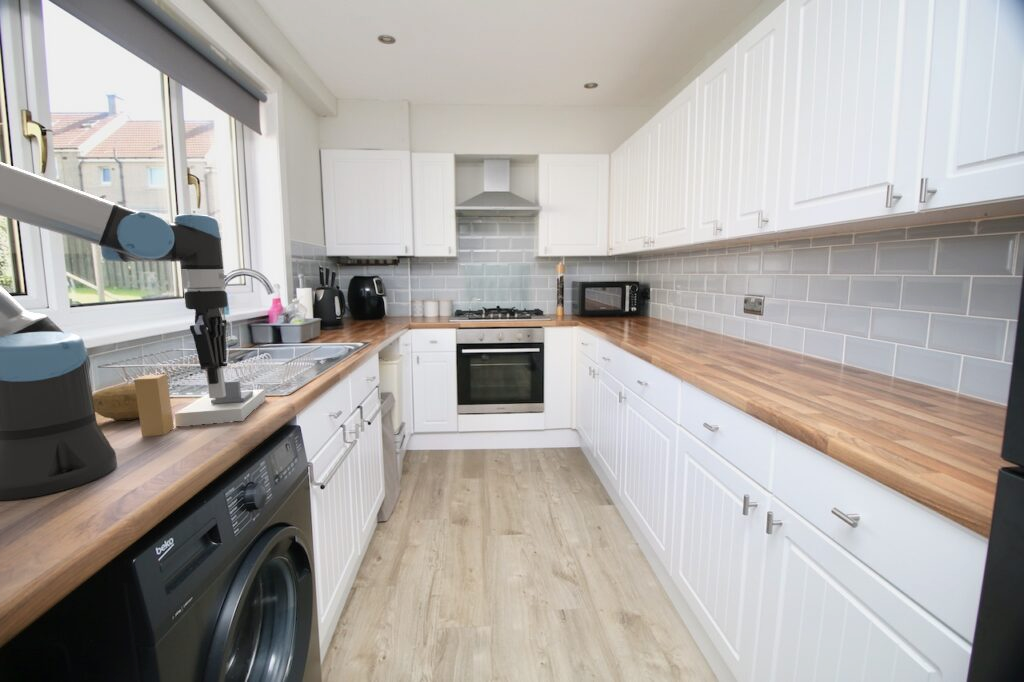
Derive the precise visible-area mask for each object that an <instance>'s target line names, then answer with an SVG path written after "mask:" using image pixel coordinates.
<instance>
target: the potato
mask: <svg viewBox="0 0 1024 682" xmlns="http://www.w3.org/2000/svg"><path fill="white" fill-rule="evenodd" d="M93 402H94V408H95V414H96V413H97V414H98V415H100V416H101V417H103V418H107V419H112V420H114V421H126V419H131V420H136V418H137V419H140V418H139V411H138V404H137V396H136V389H135V383H130V384H129V383H128V384H125V385H121V386H114V387H108V388H105V389H102V390H100V391H97V392H96V393H94V395H93Z"/></svg>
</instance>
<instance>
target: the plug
mask: <svg viewBox="0 0 1024 682" xmlns="http://www.w3.org/2000/svg"><path fill="white" fill-rule="evenodd" d="M133 380H134V381H133V382H134V384H135V389H136V396H137V404H138V411H139V418H138V419H139V424H140V430H141V431H140V432H141V437H142V436H144V437H153V436H154V437H155V436H164V435H166V434H168V433H169V432H171V431H172V430H174V429H175V427H174V426H175V425H174V418H173V412H172V404H171V395H170V387H169V380H168V374H167V373H166V374H149V375H148V374H147V375H142V376H140V377H138V378H135V379H133ZM173 428H174V429H173ZM170 430H171V431H170ZM167 432H168V433H167Z"/></svg>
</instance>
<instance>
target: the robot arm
mask: <svg viewBox="0 0 1024 682" xmlns="http://www.w3.org/2000/svg"><path fill="white" fill-rule="evenodd" d="M0 216H1V217H4V218H8V219H11V220H14V221H18V222H20V223H24V224H27V225H30V226H35V227H37V228H41V229H44V230H48V231H51V232H53V233H58V234H61V235H64V236H66V237H70V238H73V239H77V240H80V241H84V242H87V243H90V244H92V245H96V246H100V251H101V252H100V253H101V256H102V258H103V259H104V260H105V261H110V262H121V263H129V262H141V263H142V262H149V263H151V262H175V263H176V262H179V263H180V269H181V270H180V272H181V282H182V289H184V290H186V291H184V292H185V293H184V295H183V296H184V302H185V303H184V305H185V308H186V309H188V310H194V311H195V313H194V315H195V316H194V324H191V325H190V326H189V331H190V332H191V334H192V336H193V341H194V345H195V349H196V353H197V357H198V362H199V366H200V371H202V370H206V378H207V388H208V393H209V397H210V398H222V397H225V396H226V391H225V382H224V381H225V375H224V367H228V363H227V331H226V330H227V324H228V322H227V319H223V317H222V314H221V309H225V308H227V307H228V306H229V303H228V294H227V292H226V291H225V290H223V288H226V280H225V279H227V278H228V275H227V274H226V273H225V270H224V261H223V250H222V237H221V233H220V227H219V222H218V221H217V219H216V218H215V217H213V216H211V215H204V214H195V213H194V214H189V213H188V214H184V213H183V214H182V213H181V214H178V215H176V216H175V218H174V222H173V223H168V222H167V221H166V220H165V219H163V218H162V217H160V216H158V215H156V214H153V213H150V212H143V211H136V210H133V209H131V208H129V207H128V208H127V207H125V206H122V205H119V204H116V203H114V202H113V201H112V202H111V201H110V200H106V199H103V198H100V197H98V196H95V195H92V194H89V193H86V192H84V191H81V190H78V189H76V188H72V187H70V186H68V185H65V184H62V183H59V182H56V181H53V180H50V179H48V178H45V177H42V176H39V175H36V174H35V173H31V172H30V171H29V172H28V171H26V170H23V169H21V168H18V167H15V166H12V165H9V164H6V163H3V162H1V161H0ZM89 357H90V356H89V355H88V348H87V347H86V346H85V343H84V340H83V338H81V336H79V335H77V334H74V333H71V332H64V331H63V330H62V329H61V327H59V326H58V325H57V324H56V323H55V322H53V320H52V319H51V318H50V317H48V315H46V314H43V313H37V312H36V313H34V312H30V311H28V310H27V309H25V308H24V307H23V306H22V305H21V304H20V303H19V302H18V301H17V300H16V299H15V298H14V297H13V296H12V295H11V294H10V293H9V292H8V291H6V289H5V288H4V287H2V286H1V285H0V501H12V500H13V499H14V500H22V498H23V499H29V498H28V497H30V498H34V497H35V496H36V497H40V496H46V495H50V494H54V493H58V492H62V491H66V490H70V489H72V488H75V487H79V486H82V485H84V484H88V483H90V482H93V481H94V480H97V479H100V478H103V477H104V476H106V475H107V474H109V473H110V472H113V470H115V468H117V466H118V461H117V455H116V451H115V449H114V448H113V447H112V445H111V443H110V441H109V440H108V439H107V438H106V435H105V434H104V433H103V431H102V430H101V428H100V427H99V424H98V421H97V416H96V412H95V408H94V402H93V396H94V395H93V389H92V384H91V383H92V382H91V376H90V369H91V361H90V358H89ZM36 497H35V498H36Z"/></svg>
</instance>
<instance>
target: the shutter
mask: <svg viewBox="0 0 1024 682" xmlns="http://www.w3.org/2000/svg"><path fill="white" fill-rule="evenodd" d="M224 382H225V391H226V396H225V397H222V398H214V399H212V400H211V404H215V403H229V402H243V401H245V400H246V399H248V398H249V397H250V396H251V395H253V391H246V392H241V391H242V390H241V383H240V382H241V381H240V380H229V381H228V380H226V381H225V380H224Z"/></svg>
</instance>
